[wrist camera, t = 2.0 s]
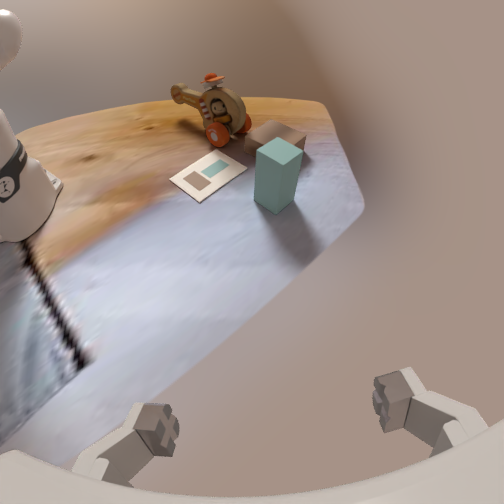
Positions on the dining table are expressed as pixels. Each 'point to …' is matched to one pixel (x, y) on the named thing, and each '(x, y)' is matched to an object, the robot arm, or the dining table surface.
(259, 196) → the teal tall block
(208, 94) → the toy helicopter
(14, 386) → the dining table surface
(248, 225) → the dining table surface
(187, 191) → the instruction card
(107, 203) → the dining table surface
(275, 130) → the walnut base block
